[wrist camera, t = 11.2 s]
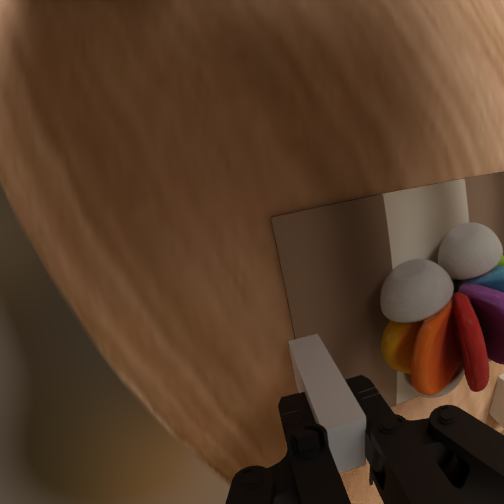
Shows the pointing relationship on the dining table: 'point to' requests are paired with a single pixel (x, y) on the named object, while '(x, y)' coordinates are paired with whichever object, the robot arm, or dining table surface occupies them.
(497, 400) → the cube
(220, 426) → the dining table surface
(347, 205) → the striped mat
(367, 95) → the dining table surface
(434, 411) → the robot arm
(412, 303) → the rainbow segmented toy
